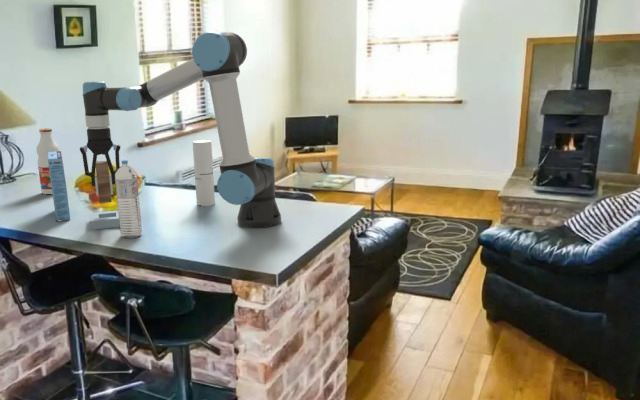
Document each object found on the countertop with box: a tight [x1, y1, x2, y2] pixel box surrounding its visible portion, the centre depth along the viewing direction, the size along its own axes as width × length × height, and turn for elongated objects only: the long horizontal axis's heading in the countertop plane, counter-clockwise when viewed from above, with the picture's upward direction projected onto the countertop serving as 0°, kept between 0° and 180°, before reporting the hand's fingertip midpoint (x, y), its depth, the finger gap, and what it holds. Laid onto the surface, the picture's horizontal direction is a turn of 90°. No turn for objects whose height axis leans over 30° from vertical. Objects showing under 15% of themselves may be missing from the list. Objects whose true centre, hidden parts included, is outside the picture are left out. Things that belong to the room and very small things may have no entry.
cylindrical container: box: [192, 139, 216, 207], centre depth 236 cm, size 7×7×25 cm
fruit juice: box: [35, 128, 60, 195], centre depth 262 cm, size 9×9×28 cm
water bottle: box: [115, 159, 143, 239], centre depth 196 cm, size 7×7×25 cm
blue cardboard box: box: [48, 150, 71, 221], centre depth 224 cm, size 20×5×23 cm, turn 23°
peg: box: [95, 160, 113, 204], centre depth 210 cm, size 4×4×14 cm
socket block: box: [88, 210, 120, 231], centre depth 213 cm, size 12×12×3 cm
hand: (104, 194), depth 211 cm, fingers closed on peg, 4 cm apart
